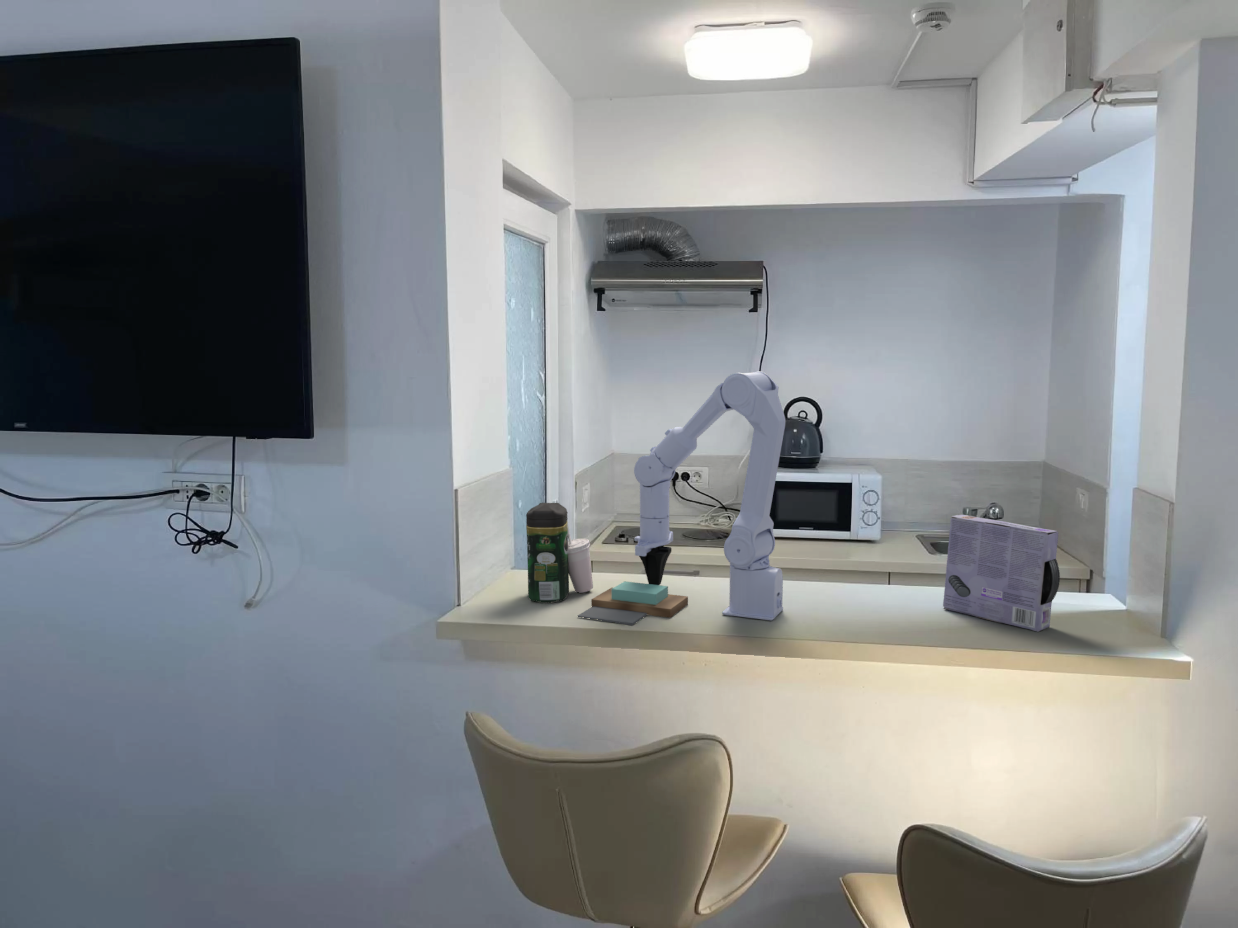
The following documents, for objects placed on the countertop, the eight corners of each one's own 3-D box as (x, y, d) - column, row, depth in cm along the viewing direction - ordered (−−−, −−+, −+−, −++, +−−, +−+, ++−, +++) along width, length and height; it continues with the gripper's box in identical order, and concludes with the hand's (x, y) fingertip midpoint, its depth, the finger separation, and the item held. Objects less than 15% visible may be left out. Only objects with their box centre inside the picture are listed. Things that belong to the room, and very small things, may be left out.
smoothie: (564, 590, 187) (548, 525, 184) (593, 580, 189) (578, 515, 186) (574, 597, 181) (558, 530, 178) (604, 587, 183) (589, 520, 180)
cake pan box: (1058, 628, 160) (1064, 528, 158) (1045, 634, 157) (1051, 532, 155) (955, 604, 175) (959, 512, 172) (941, 609, 171) (945, 516, 169)
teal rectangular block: (667, 596, 176) (667, 586, 175) (655, 604, 170) (655, 594, 170) (624, 591, 179) (624, 581, 179) (611, 599, 174) (611, 588, 174)
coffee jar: (532, 590, 187) (530, 499, 184) (571, 590, 186) (570, 500, 183) (524, 604, 177) (522, 508, 174) (565, 604, 176) (563, 509, 174)
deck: (687, 604, 176) (687, 596, 175) (670, 617, 168) (670, 609, 167) (611, 595, 182) (611, 587, 182) (591, 607, 174) (591, 599, 174)
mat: (647, 614, 169) (647, 612, 169) (632, 625, 163) (632, 623, 163) (593, 608, 174) (593, 605, 174) (577, 617, 168) (577, 615, 168)
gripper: (650, 508, 187) (650, 573, 189) (620, 521, 174) (620, 591, 176) (682, 510, 185) (682, 577, 186) (654, 524, 172) (654, 595, 173)
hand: (654, 584), depth 181 cm, fingers closed
